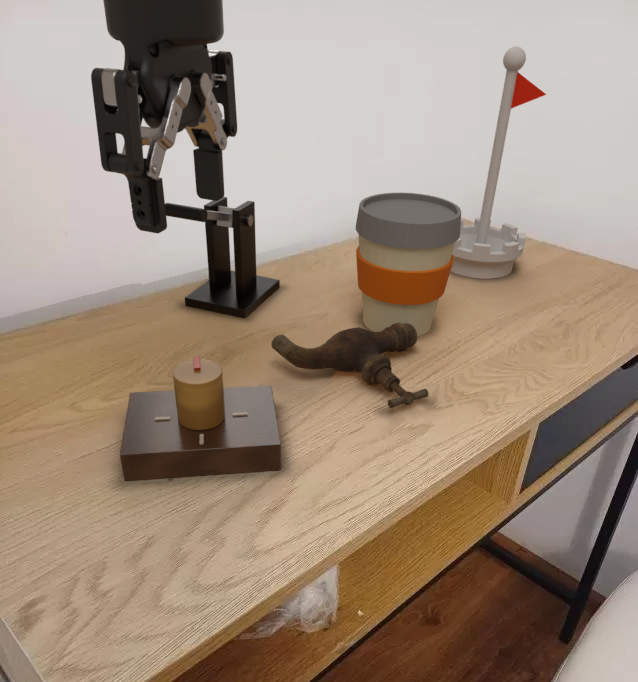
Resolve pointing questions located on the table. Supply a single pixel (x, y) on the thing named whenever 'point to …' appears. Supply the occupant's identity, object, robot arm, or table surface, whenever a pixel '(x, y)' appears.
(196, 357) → the tap knob
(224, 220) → the lever with black grip
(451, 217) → the reusable coffee cup
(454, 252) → the flag stand
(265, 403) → the panel
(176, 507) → the table surface
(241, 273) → the black upright frame
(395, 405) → the faucet
